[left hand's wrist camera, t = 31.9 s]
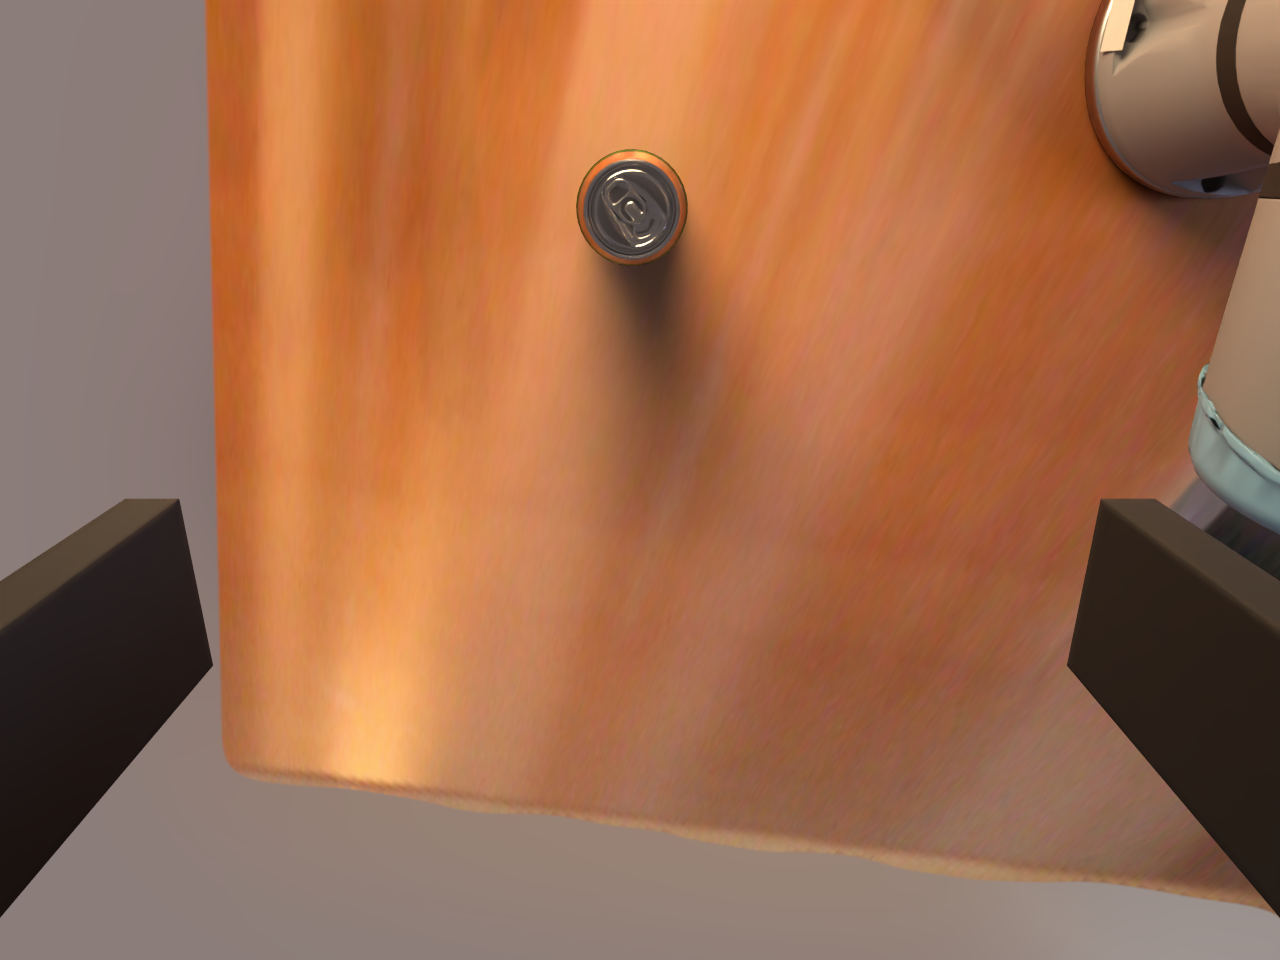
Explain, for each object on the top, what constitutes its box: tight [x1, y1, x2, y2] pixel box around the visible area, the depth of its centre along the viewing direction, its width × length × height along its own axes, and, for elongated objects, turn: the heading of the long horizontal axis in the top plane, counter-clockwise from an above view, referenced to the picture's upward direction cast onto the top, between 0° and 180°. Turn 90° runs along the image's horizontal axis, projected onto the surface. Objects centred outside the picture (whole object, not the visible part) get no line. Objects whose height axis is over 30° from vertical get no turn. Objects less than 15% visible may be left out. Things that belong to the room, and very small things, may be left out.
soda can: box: [576, 149, 687, 266], centre depth 43 cm, size 5×5×12 cm
